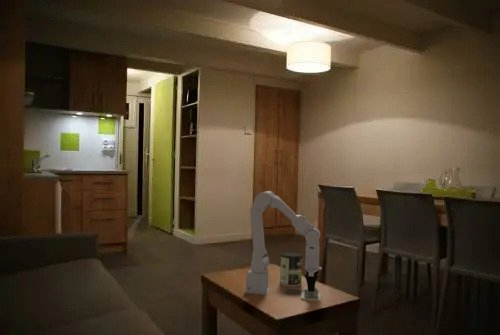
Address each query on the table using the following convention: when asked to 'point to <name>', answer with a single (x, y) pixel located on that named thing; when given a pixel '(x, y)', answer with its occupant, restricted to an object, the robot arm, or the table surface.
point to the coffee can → (291, 268)
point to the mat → (293, 292)
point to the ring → (311, 293)
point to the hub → (311, 298)
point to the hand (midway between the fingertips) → (311, 288)
